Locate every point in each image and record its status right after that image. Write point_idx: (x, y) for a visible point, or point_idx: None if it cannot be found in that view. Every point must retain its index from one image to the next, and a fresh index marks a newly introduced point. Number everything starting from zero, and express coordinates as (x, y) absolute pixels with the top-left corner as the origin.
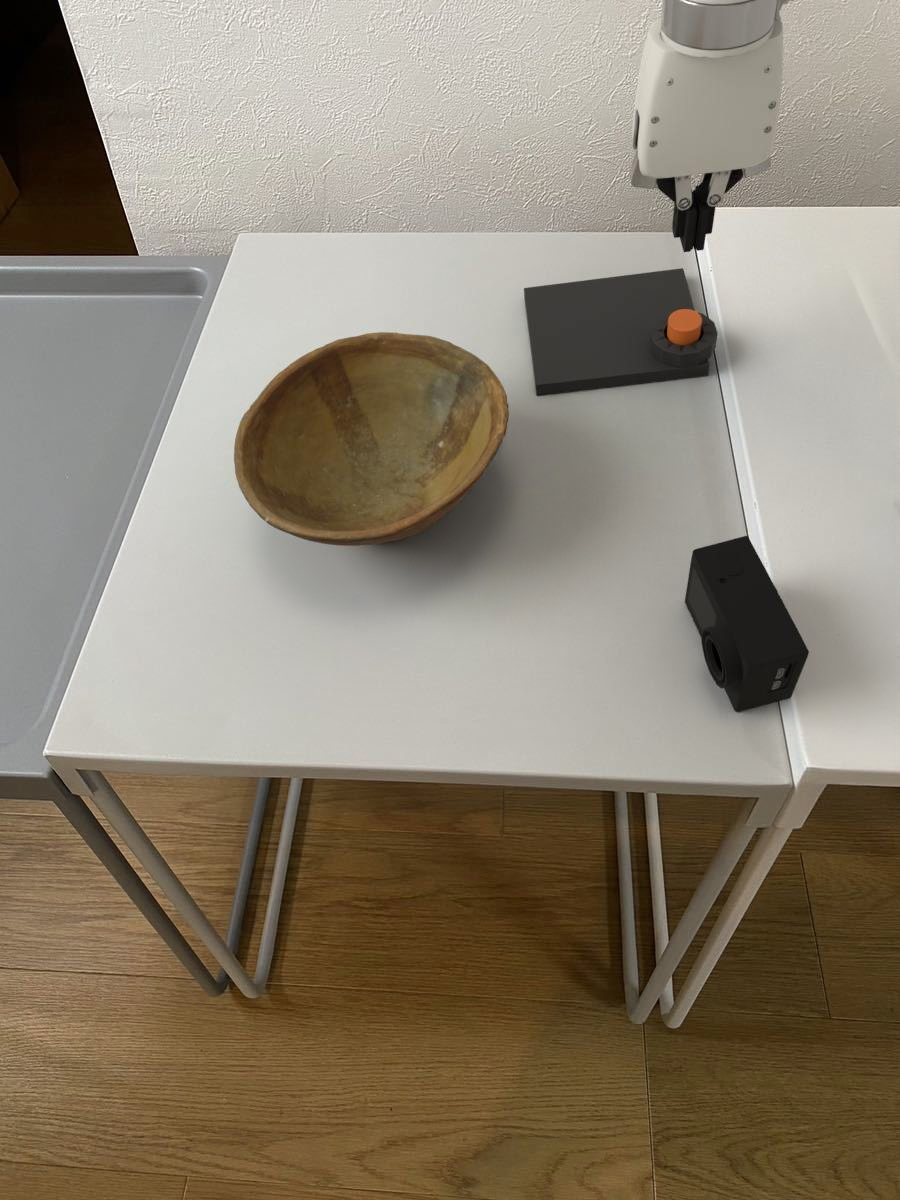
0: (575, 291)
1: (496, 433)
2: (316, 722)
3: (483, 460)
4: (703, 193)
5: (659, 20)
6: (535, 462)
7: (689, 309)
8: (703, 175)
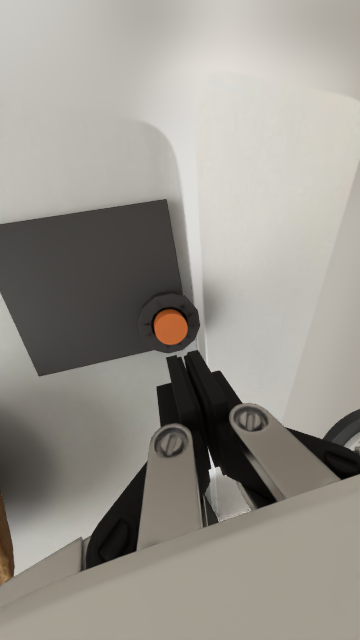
0: (44, 239)
1: (2, 580)
2: None
3: None
4: (233, 472)
5: None
6: (63, 429)
7: (175, 314)
8: (244, 449)
